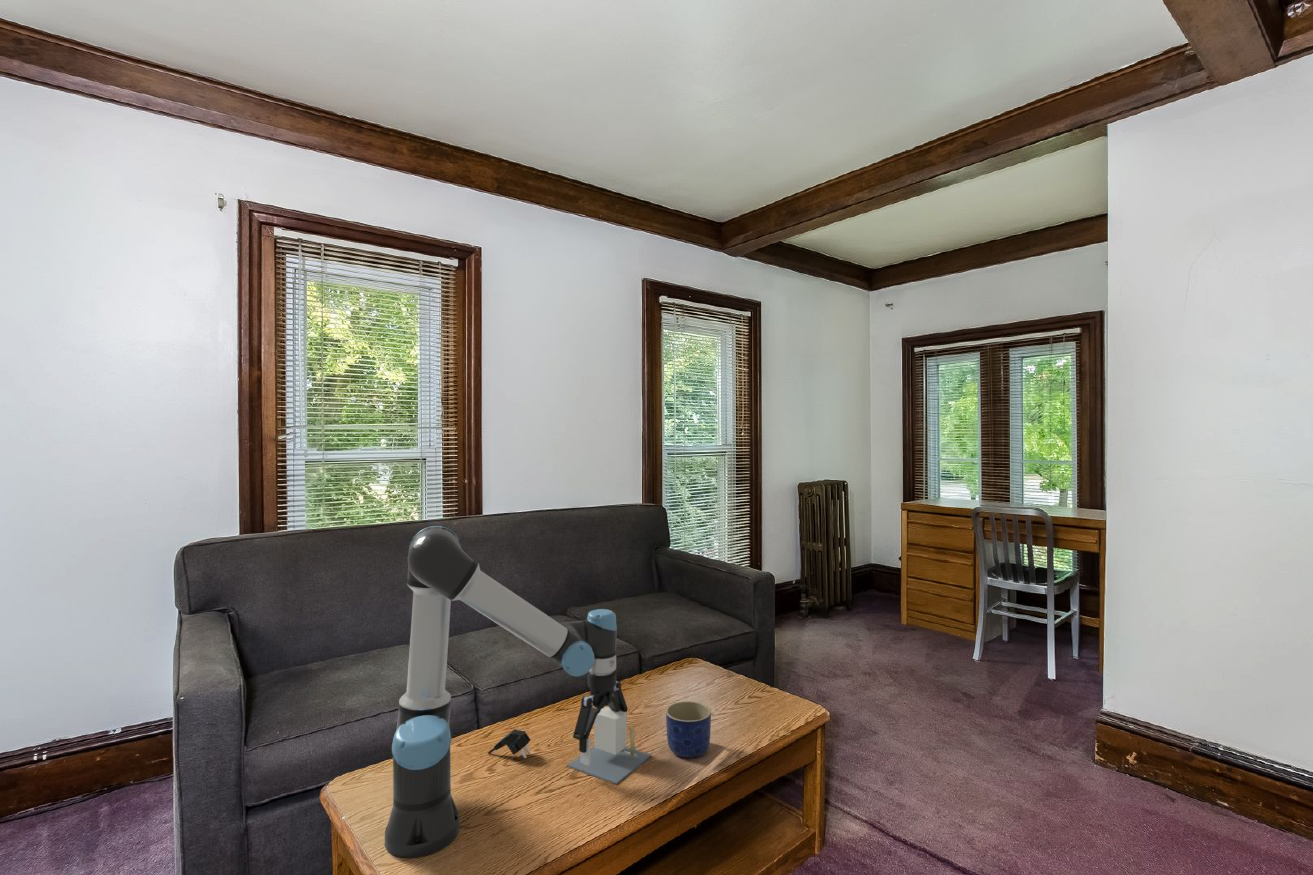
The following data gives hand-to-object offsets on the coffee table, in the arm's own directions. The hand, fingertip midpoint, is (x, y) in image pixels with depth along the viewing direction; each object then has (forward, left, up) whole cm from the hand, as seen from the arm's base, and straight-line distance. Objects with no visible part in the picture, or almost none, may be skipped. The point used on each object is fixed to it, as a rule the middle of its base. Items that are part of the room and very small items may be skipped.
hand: (601, 752), depth 160 cm
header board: (+3, 0, -4) cm, 5 cm away
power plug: (-11, +29, -6) cm, 31 cm away
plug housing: (+4, 0, 0) cm, 4 cm away
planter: (+19, -15, -4) cm, 25 cm away
